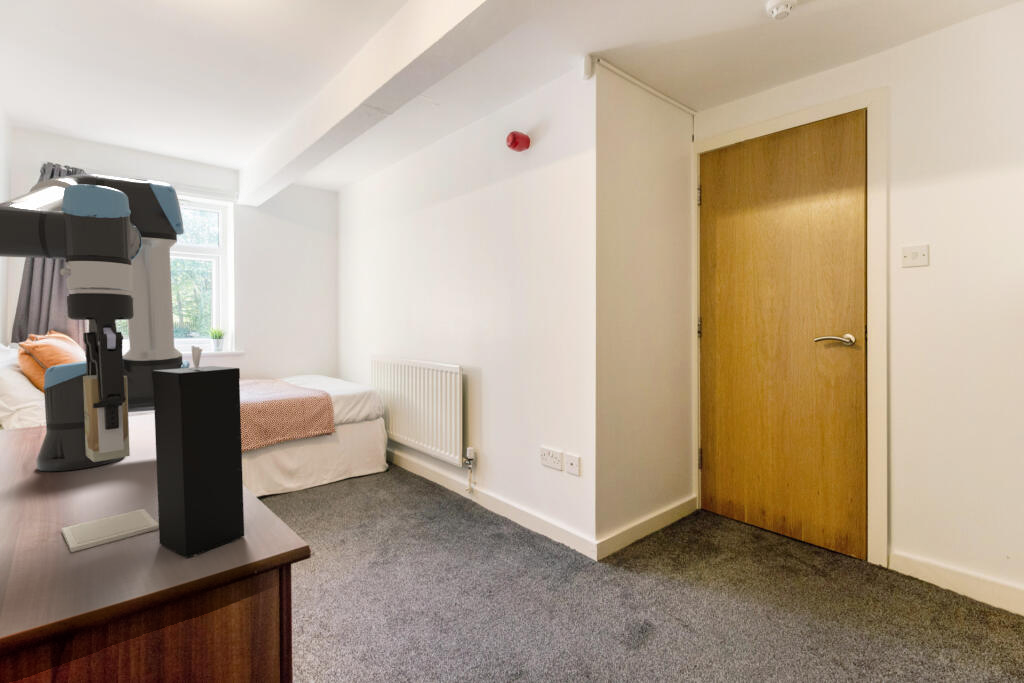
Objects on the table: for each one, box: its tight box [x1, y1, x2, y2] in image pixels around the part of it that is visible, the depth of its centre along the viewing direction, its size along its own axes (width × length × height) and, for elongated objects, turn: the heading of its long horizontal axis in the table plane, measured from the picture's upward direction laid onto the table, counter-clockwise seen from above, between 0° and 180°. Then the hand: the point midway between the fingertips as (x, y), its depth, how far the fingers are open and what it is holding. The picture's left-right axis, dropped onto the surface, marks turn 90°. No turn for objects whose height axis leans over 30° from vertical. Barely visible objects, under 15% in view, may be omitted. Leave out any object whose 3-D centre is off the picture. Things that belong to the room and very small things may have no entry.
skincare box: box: [83, 375, 131, 462], centre depth 73 cm, size 6×4×12 cm
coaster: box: [61, 508, 159, 553], centre depth 73 cm, size 10×10×1 cm
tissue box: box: [152, 345, 245, 559], centre depth 69 cm, size 8×8×28 cm
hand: (107, 446), depth 73 cm, fingers closed on skincare box, 6 cm apart
